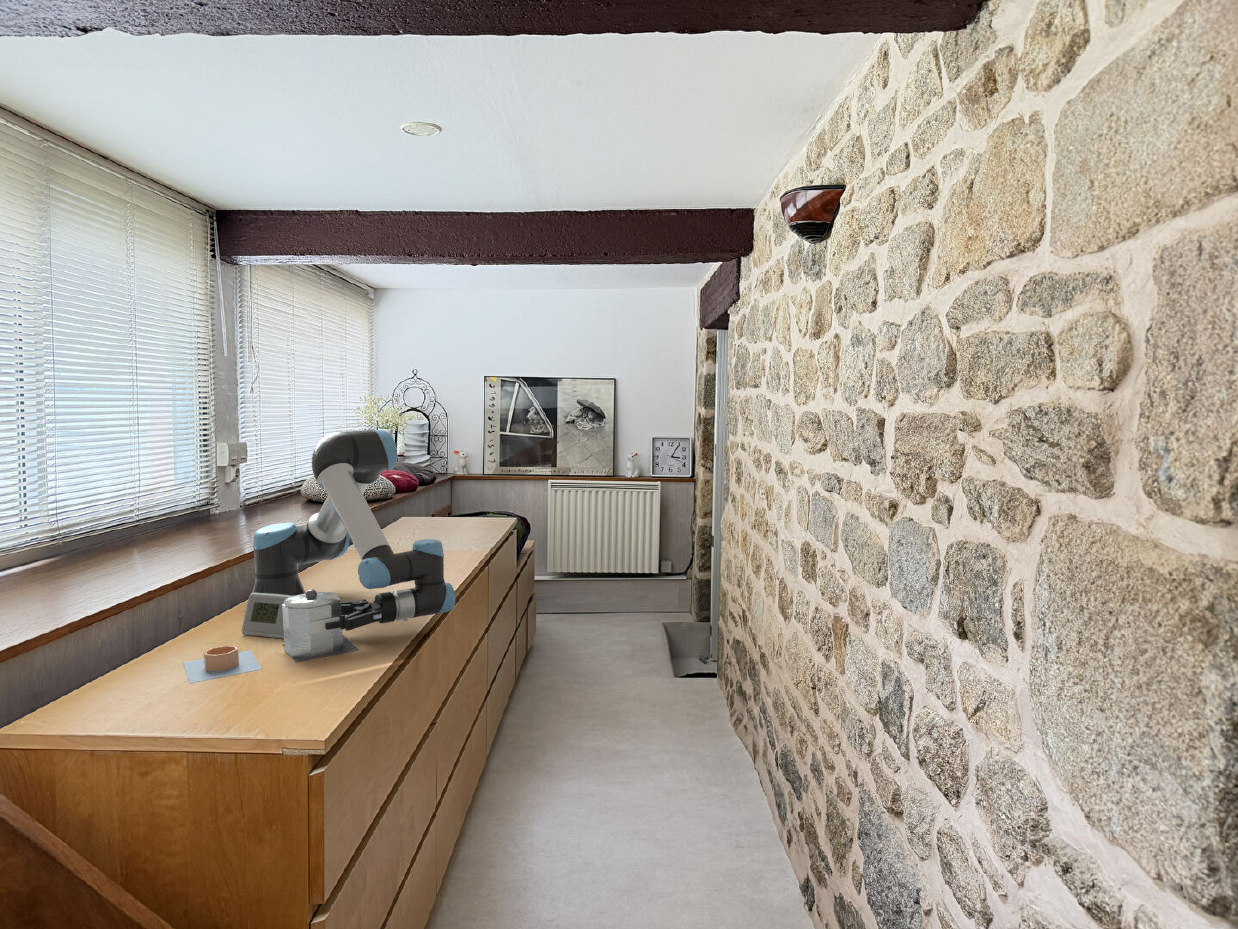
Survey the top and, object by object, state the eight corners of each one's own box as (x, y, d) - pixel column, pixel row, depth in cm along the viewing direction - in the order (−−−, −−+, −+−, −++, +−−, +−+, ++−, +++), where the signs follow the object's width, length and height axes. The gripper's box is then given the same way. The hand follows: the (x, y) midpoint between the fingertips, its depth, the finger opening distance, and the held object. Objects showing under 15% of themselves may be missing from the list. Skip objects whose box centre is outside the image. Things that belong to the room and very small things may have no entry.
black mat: (282, 646, 182) (282, 644, 182) (341, 635, 190) (341, 633, 190) (296, 665, 169) (295, 662, 169) (359, 652, 177) (359, 650, 177)
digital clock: (238, 636, 192) (235, 595, 191) (270, 627, 200) (268, 587, 199) (277, 645, 184) (275, 603, 183) (309, 635, 191) (307, 594, 190)
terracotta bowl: (203, 664, 169) (202, 649, 169) (236, 658, 173) (235, 643, 172) (206, 673, 163) (205, 657, 163) (240, 666, 167) (239, 651, 167)
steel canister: (280, 647, 180) (277, 589, 179) (331, 637, 187) (328, 581, 186) (295, 660, 171) (292, 598, 169) (348, 648, 178) (345, 589, 177)
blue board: (183, 665, 171) (183, 662, 171) (250, 652, 179) (250, 650, 178) (189, 686, 158) (189, 683, 157) (262, 671, 165) (262, 669, 165)
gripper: (410, 632, 179) (316, 650, 167) (379, 610, 200) (293, 625, 188) (408, 601, 179) (314, 617, 167) (378, 582, 199) (291, 595, 187)
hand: (303, 621), depth 177 cm, fingers closed on steel canister, 12 cm apart
